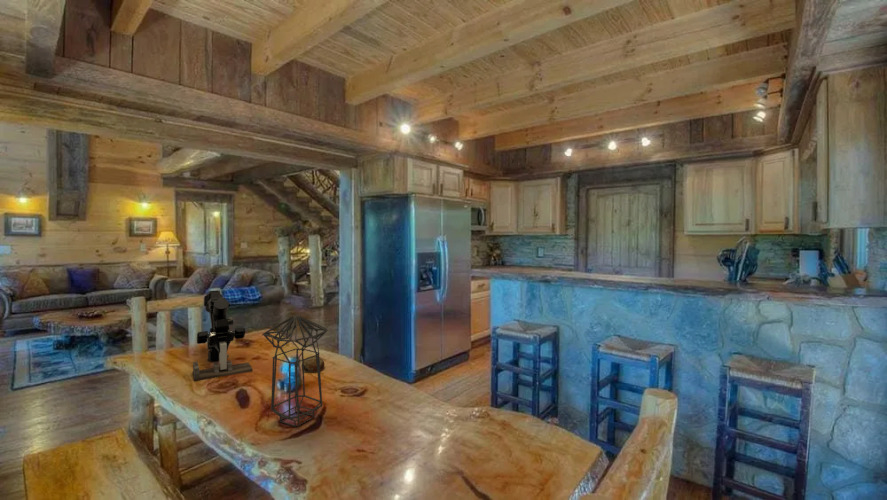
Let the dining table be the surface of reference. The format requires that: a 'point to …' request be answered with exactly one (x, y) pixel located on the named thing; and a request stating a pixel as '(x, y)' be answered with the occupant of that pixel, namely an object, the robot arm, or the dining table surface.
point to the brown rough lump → (312, 365)
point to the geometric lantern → (301, 323)
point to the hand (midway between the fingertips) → (223, 351)
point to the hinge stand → (217, 372)
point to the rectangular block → (223, 355)
